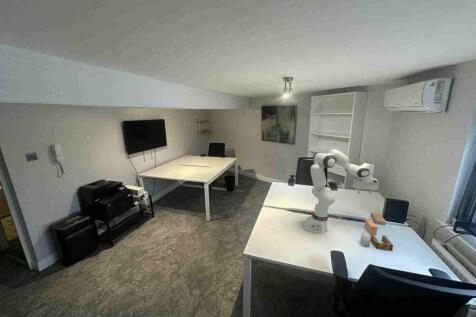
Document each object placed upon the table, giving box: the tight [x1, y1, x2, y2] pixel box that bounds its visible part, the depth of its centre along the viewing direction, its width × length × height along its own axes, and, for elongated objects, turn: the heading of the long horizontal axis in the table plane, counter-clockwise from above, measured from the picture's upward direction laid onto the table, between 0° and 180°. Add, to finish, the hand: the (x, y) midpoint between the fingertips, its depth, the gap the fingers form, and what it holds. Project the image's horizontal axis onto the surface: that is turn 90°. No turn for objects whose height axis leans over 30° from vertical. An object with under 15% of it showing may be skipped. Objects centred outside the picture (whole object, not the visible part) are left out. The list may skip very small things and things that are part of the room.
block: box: [364, 218, 378, 236], centre depth 169 cm, size 5×12×8 cm, turn 166°
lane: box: [370, 234, 394, 252], centre depth 151 cm, size 11×12×5 cm
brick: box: [370, 211, 387, 226], centre depth 186 cm, size 17×8×5 cm, turn 159°
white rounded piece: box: [359, 231, 371, 248], centre depth 152 cm, size 6×6×9 cm
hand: (364, 193), depth 176 cm, fingers open, 8 cm apart
